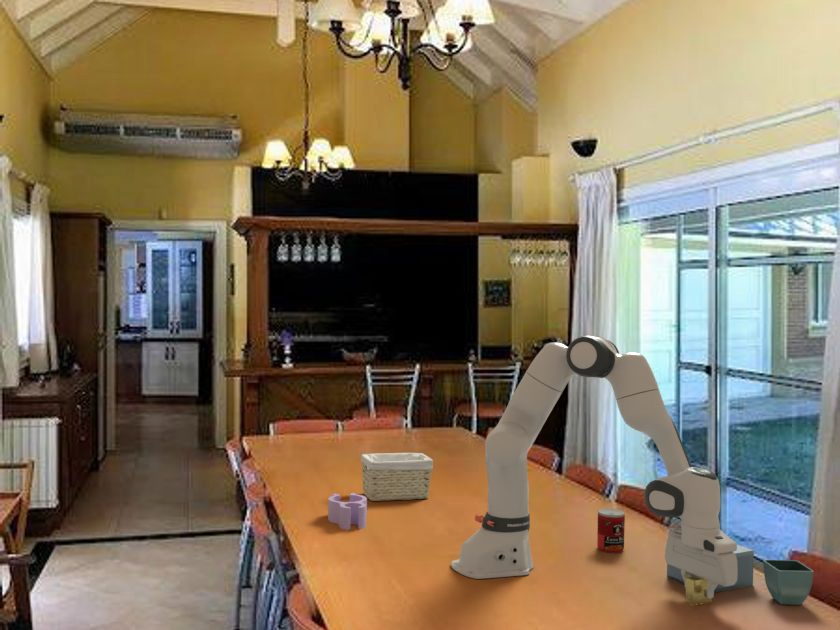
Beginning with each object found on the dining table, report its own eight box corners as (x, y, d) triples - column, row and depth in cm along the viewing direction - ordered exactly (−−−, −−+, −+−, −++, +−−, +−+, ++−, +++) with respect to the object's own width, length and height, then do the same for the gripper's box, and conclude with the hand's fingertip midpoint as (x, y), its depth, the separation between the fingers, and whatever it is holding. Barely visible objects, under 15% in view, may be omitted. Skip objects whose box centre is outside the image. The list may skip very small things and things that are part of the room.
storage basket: (421, 490, 320) (421, 451, 319) (433, 500, 304) (434, 459, 304) (359, 493, 313) (359, 453, 313) (368, 503, 297) (369, 461, 297)
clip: (374, 528, 265) (374, 506, 265) (334, 531, 262) (335, 508, 262) (361, 513, 285) (362, 492, 284) (324, 514, 281) (325, 494, 281)
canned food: (605, 554, 242) (605, 515, 242) (592, 546, 250) (593, 509, 250) (629, 552, 244) (630, 514, 244) (615, 544, 252) (616, 507, 252)
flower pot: (796, 595, 210) (797, 559, 210) (813, 608, 202) (814, 571, 201) (761, 595, 210) (762, 559, 210) (777, 608, 201) (778, 570, 201)
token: (693, 605, 202) (693, 580, 202) (685, 602, 204) (686, 577, 204) (711, 601, 205) (712, 577, 205) (703, 598, 207) (704, 574, 207)
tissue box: (707, 594, 210) (708, 558, 210) (666, 577, 223) (667, 543, 222) (752, 585, 217) (753, 550, 217) (711, 569, 230) (711, 536, 230)
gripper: (659, 526, 212) (658, 581, 212) (723, 549, 194) (721, 608, 194) (678, 524, 215) (677, 578, 215) (742, 545, 197) (741, 604, 197)
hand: (698, 593), depth 205 cm, fingers open, 5 cm apart
